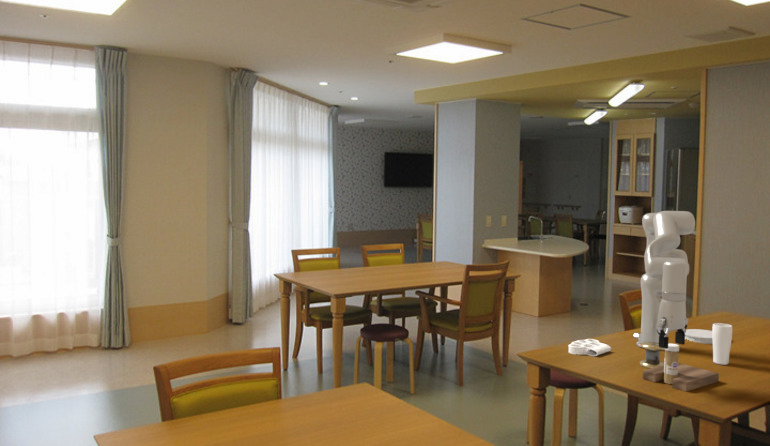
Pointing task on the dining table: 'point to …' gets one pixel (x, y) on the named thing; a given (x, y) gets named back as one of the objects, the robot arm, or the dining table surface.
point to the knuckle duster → (588, 347)
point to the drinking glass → (721, 342)
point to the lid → (699, 336)
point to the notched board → (683, 377)
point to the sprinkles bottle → (671, 363)
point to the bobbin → (651, 355)
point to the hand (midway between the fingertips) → (671, 345)
